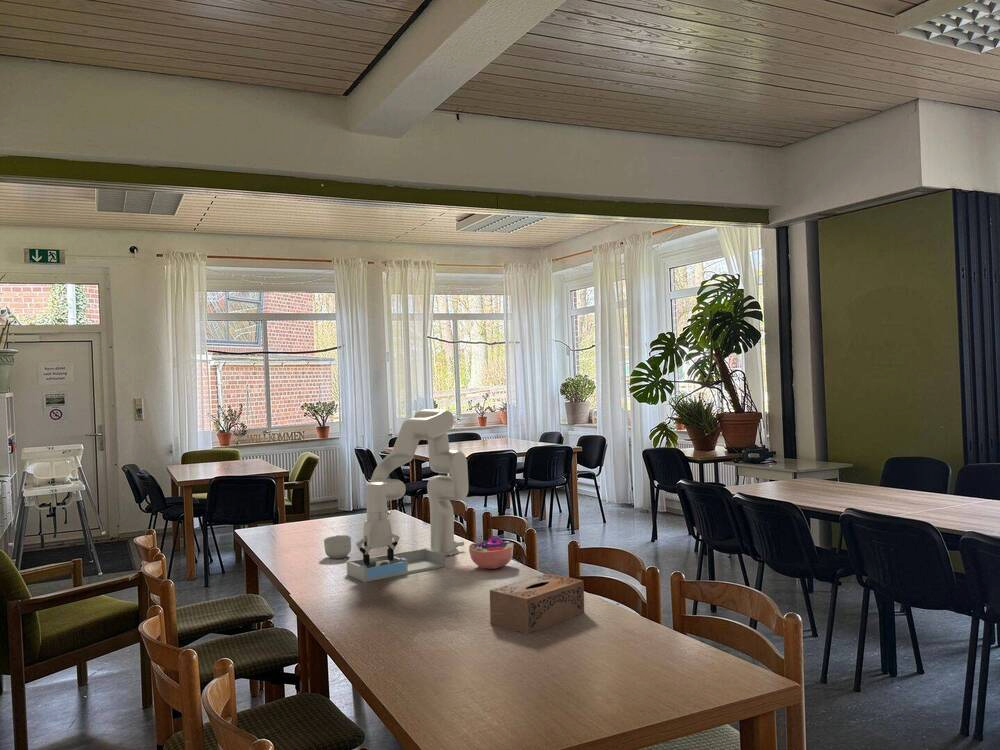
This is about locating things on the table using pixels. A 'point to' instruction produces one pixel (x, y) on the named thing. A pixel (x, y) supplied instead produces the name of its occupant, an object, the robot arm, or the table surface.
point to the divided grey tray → (397, 565)
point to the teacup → (337, 546)
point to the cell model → (491, 553)
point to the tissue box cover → (536, 602)
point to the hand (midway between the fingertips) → (378, 562)
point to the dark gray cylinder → (377, 562)
